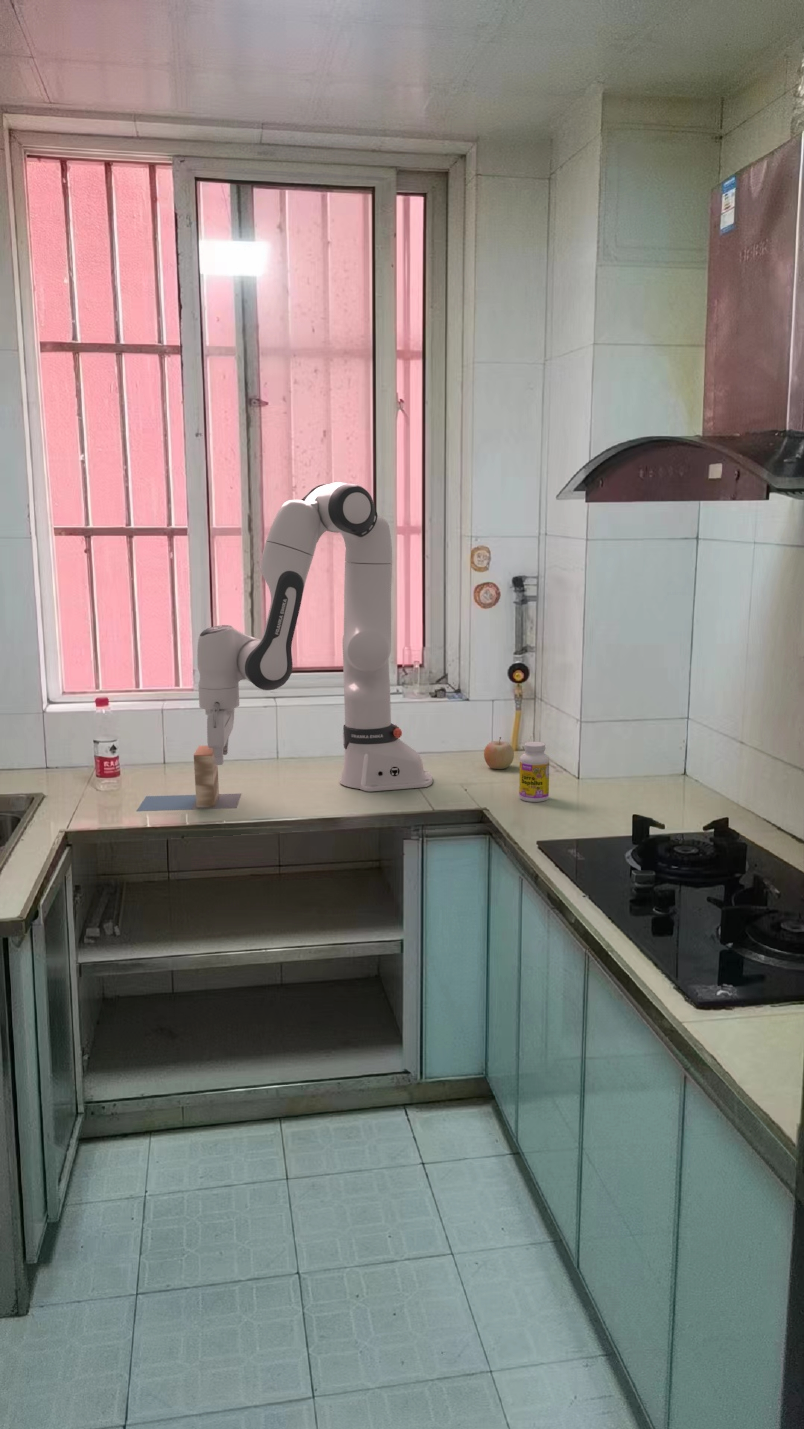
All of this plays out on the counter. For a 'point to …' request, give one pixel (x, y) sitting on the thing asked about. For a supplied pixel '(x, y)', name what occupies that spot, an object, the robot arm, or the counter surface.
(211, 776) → the wooden block
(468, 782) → the counter surface
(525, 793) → the supplement bottle
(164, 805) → the rubber mat
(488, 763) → the fruit
